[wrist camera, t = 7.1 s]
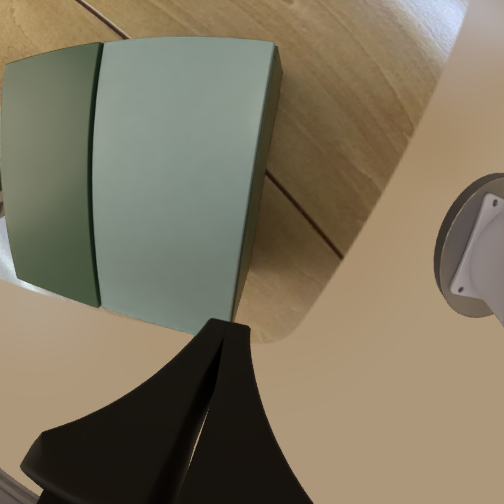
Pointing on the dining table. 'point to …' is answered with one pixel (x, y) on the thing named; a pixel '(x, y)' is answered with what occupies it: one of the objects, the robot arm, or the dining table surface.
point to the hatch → (175, 173)
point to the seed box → (76, 170)
